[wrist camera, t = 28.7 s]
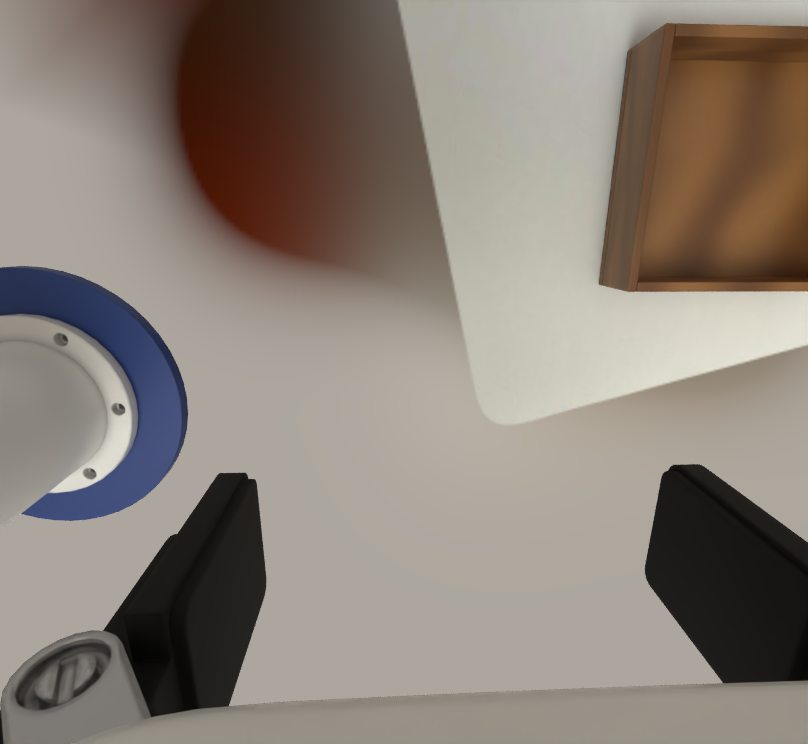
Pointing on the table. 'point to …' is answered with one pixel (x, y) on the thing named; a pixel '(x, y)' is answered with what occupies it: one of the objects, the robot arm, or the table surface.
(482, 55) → the table surface
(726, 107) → the tray
